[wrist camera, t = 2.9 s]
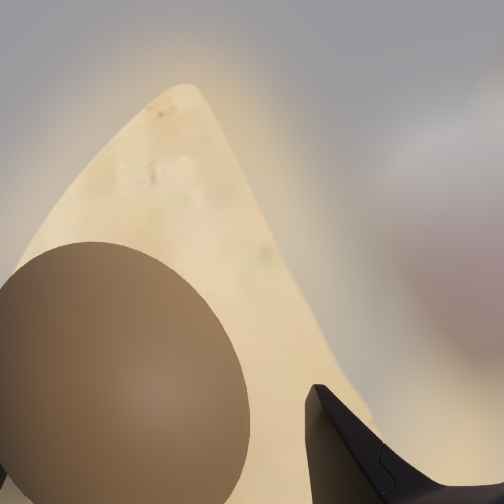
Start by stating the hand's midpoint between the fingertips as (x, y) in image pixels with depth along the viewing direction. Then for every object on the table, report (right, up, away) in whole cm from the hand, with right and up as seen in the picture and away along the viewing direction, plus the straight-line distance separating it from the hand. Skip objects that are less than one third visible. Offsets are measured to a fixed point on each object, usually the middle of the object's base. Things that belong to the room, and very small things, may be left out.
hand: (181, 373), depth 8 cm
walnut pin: (-1, -4, +6) cm, 7 cm away
